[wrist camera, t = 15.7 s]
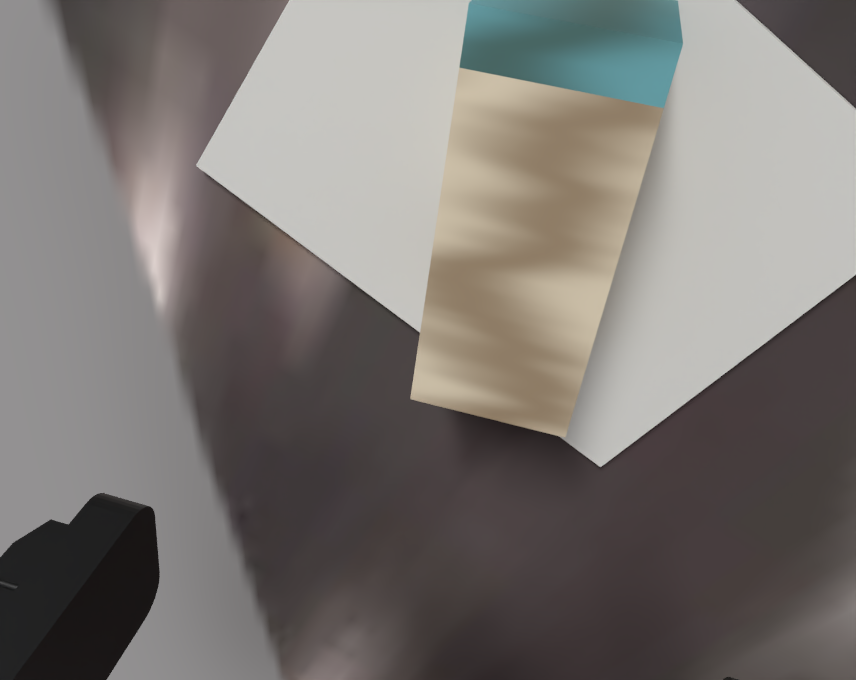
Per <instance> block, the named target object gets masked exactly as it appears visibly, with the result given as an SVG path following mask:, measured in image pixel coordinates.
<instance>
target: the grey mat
mask: <svg viewBox="0 0 856 680" xmlns="http://www.w3.org/2000/svg"><path fill="white" fill-rule="evenodd" d="M470 1H471V0H289V2H288V4H287V6H286V7H285V9H284V11H283V13H282V14H281V16H280V18H279V20H278V21H277V23H276V25H275V27H274V29H273V30H272V32H271V34H270V36H269V37H268V39H267V41H266V43H265V44H264V46H263V48H262V50H261V52H260V53H259V55H258V57H257V59H256V60H255V62H254V64H253V66H252V68H251V69H250V71H249V73H248V75H247V76H246V78H245V80H244V82H243V83H242V85H241V87H240V89H239V91H238V92H237V94H236V96H235V98H234V99H233V101H232V103H231V105H230V106H229V108H228V110H227V112H226V114H225V115H224V117H223V119H222V121H221V122H220V124H219V126H218V128H217V129H216V131H215V133H214V135H213V137H212V138H211V140H210V142H209V144H208V145H207V147H206V149H205V151H204V153H203V154H202V156H201V158H200V160H199V161H198V163H197V165H196V166H197V167H198V168H200V169H201V170H202V171H204V172H205V173H207V174H208V175H209V176H211V177H212V178H213V179H215V180H216V181H217V182H219V183H220V184H221V185H223V186H224V187H225V188H227V189H228V190H229V191H231V192H232V193H233V194H235V195H236V196H237V197H239V198H240V199H241V200H243V201H244V202H245V203H247V204H248V205H249V206H251V207H252V208H253V209H255V210H256V211H257V212H259V213H260V214H261V215H263V216H264V217H266V218H267V219H268V220H270V221H271V222H272V223H274V224H275V225H276V226H278V227H279V228H280V229H282V230H283V231H284V232H286V233H287V234H288V235H290V236H291V237H292V238H294V239H295V240H296V241H298V242H299V243H300V244H302V245H303V246H304V247H306V248H307V249H308V250H310V251H311V252H312V253H314V254H315V255H316V256H318V257H319V258H320V259H322V260H323V261H325V262H326V263H327V264H329V265H330V266H331V267H333V268H334V269H335V270H337V271H338V272H339V273H341V274H342V275H343V276H345V277H346V278H347V279H349V280H350V281H351V282H353V283H354V284H355V285H357V286H358V287H359V288H361V289H362V290H363V291H365V292H366V293H367V294H369V295H370V296H371V297H373V298H374V299H375V300H377V301H378V302H379V303H381V304H382V305H384V306H385V307H386V308H388V309H389V310H390V311H392V312H393V313H394V314H396V315H397V316H398V317H400V318H401V319H402V320H404V321H405V322H406V323H408V324H409V325H410V326H412V327H413V328H414V329H416V330H417V331H418V332H420V330H421V323H422V317H423V310H424V303H425V296H426V290H427V283H428V276H429V269H430V263H431V256H432V249H433V242H434V235H435V229H436V222H437V215H438V208H439V202H440V195H441V188H442V181H443V174H444V168H445V161H446V154H447V147H448V141H449V134H450V127H451V120H452V114H453V107H454V100H455V93H456V86H457V80H458V73H459V66H460V59H461V53H462V46H463V39H464V32H465V25H466V19H467V12H468V5H469V2H470ZM676 1H678V6H679V14H680V22H681V30H682V38H683V46H682V49H681V53H680V56H679V59H678V63H677V66H676V69H675V73H674V76H673V79H672V83H671V86H670V89H669V93H668V96H667V99H666V103H665V106H664V109H663V113H662V116H661V120H660V123H659V126H658V130H657V133H656V136H655V140H654V143H653V146H652V150H651V153H650V156H649V160H648V163H647V166H646V170H645V173H644V176H643V180H642V183H641V186H640V190H639V193H638V196H637V200H636V203H635V206H634V210H633V213H632V216H631V220H630V223H629V226H628V230H627V233H626V237H625V240H624V243H623V247H622V250H621V253H620V257H619V260H618V263H617V267H616V270H615V273H614V277H613V280H612V283H611V287H610V290H609V293H608V297H607V300H606V303H605V307H604V310H603V313H602V317H601V320H600V323H599V327H598V330H597V333H596V337H595V340H594V343H593V347H592V350H591V354H590V357H589V360H588V364H587V367H586V370H585V374H584V377H583V380H582V384H581V387H580V390H579V394H578V397H577V400H576V404H575V407H574V410H573V414H572V417H571V420H570V424H569V427H568V430H567V434H566V437H565V438H564V437H561V438H562V439H563V440H565V441H566V442H567V443H569V444H570V445H571V446H573V447H574V448H575V449H577V450H578V451H579V452H581V453H582V454H583V455H585V456H586V457H587V458H589V459H590V460H591V461H593V462H594V463H595V464H597V465H598V466H599V467H601V466H603V465H604V464H605V463H607V462H608V461H609V460H611V459H612V458H613V457H615V456H616V455H617V454H619V453H620V452H621V451H623V450H624V449H625V448H627V447H628V446H629V445H631V444H632V443H633V442H635V441H636V440H637V439H639V438H640V437H641V436H643V435H644V434H645V433H647V432H648V431H649V430H651V429H652V428H653V427H655V426H656V425H657V424H658V423H660V422H661V421H662V420H664V419H665V418H666V417H668V416H669V415H670V414H672V413H673V412H674V411H676V410H677V409H678V408H680V407H681V406H682V405H684V404H685V403H686V402H688V401H689V400H690V399H692V398H693V397H694V396H696V395H697V394H698V393H700V392H701V391H702V390H704V389H705V388H706V387H708V386H709V385H710V384H711V383H713V382H714V381H715V380H717V379H718V378H719V377H721V376H722V375H723V374H725V373H726V372H727V371H729V370H730V369H731V368H733V367H734V366H735V365H737V364H738V363H739V362H741V361H742V360H743V359H745V358H746V357H747V356H749V355H750V354H751V353H753V352H754V351H755V350H757V349H758V348H759V347H761V346H762V345H763V344H765V343H766V342H767V341H768V340H770V339H771V338H772V337H774V336H775V335H776V334H778V333H779V332H780V331H782V330H783V329H784V328H786V327H787V326H788V325H790V324H791V323H792V322H794V321H795V320H796V319H798V318H799V317H800V316H802V315H803V314H804V313H806V312H807V311H808V310H810V309H811V308H812V307H814V306H815V305H816V304H818V303H819V302H820V301H821V300H823V299H824V298H825V297H827V296H828V295H829V294H831V293H832V292H833V291H835V290H836V289H837V288H839V287H840V286H841V285H843V284H844V283H845V282H847V281H848V280H849V279H851V278H852V277H853V276H855V275H856V108H855V107H853V106H852V105H851V104H850V103H849V102H848V101H847V100H846V99H845V98H844V97H842V96H841V95H840V94H839V93H838V92H837V91H836V90H835V89H834V88H833V87H831V86H830V85H829V84H828V83H827V82H826V81H825V80H824V79H823V78H821V77H820V76H819V75H818V74H817V73H816V72H815V71H814V70H813V69H812V68H810V67H809V66H808V65H807V64H806V63H805V62H804V61H803V60H802V59H801V58H799V57H798V56H797V55H796V54H795V53H794V52H793V51H792V50H791V49H789V48H788V47H787V46H786V45H785V44H784V43H783V42H782V41H781V40H780V39H778V38H777V37H776V36H775V35H774V34H773V33H772V32H771V31H770V30H769V29H767V28H766V27H765V26H764V25H763V24H762V23H761V22H760V21H759V20H757V19H756V18H755V17H754V16H753V15H752V14H751V13H750V12H749V11H748V10H746V9H745V8H744V7H743V6H742V5H741V4H740V3H739V2H738V1H737V0H676ZM559 437H560V436H559Z"/></svg>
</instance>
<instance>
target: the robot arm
mask: <svg viewBox="0 0 856 680" xmlns="http://www.w3.org/2000/svg"><path fill="white" fill-rule="evenodd" d="M158 584H159V561H158V549H157V537H156V524H155V514H154V511H153V509H152V508H151V507H149V506H146V505H142V504H139V503H135V502H132V501H129V500H125V499H122V498H118V497H115V496H111V495H108V494H104V493H100V494H97V495H95V496H93V497H92V498H91V499H90V500H89V501H88V502H87V503H86V504H85V505H84V507H83V508H82V509H81V510H80V512H79V513H78V514H77V515H76V516H75V518H74V519H73V520H72V521H71V522H70V524H69V525H68V524H64V523H61V522H57V521H54V520H49V521H48V522H46V523H45V524H43V525H41V526H40V527H38V528H37V529H35V530H33V531H32V532H30V533H28V534H27V535H25V536H24V537H22V538H20V539H19V540H17V541H15V542H14V543H13V544H12V545H11V546H10V547H9V548H8V549H7V551H6V552H5V553H4V554H3V555H2V556H1V557H0V680H106V679H107V678H108V676H109V675H110V673H111V672H112V670H113V669H114V667H115V665H116V664H117V662H118V660H119V659H120V658H121V656H122V654H123V653H124V651H125V650H126V648H127V647H128V645H129V643H130V642H131V640H132V639H133V637H134V636H135V634H136V632H137V631H138V629H139V628H140V626H141V624H142V623H143V621H144V620H145V618H146V616H147V615H148V613H149V611H150V609H151V606H152V604H153V601H154V599H155V596H156V593H157V589H158ZM723 680H738V679H734V678H731V677H726V678H725V679H723Z"/></svg>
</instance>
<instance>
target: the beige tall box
mask: <svg viewBox="0 0 856 680" xmlns="http://www.w3.org/2000/svg"><path fill="white" fill-rule="evenodd" d="M682 46H683V38H682V30H681V22H680V14H679V6H678V1H676V0H471V1H470V2H469V5H468V12H467V19H466V25H465V32H464V39H463V46H462V53H461V59H460V66H459V73H458V80H457V86H456V93H455V100H454V107H453V114H452V120H451V127H450V134H449V141H448V147H447V154H446V161H445V168H444V174H443V181H442V188H441V195H440V202H439V208H438V215H437V222H436V229H435V235H434V242H433V249H432V256H431V263H430V269H429V276H428V283H427V290H426V296H425V303H424V310H423V317H422V323H421V330H420V337H419V344H418V351H417V357H416V364H415V371H414V378H413V384H412V391H411V398H410V399H412V400H416V401H420V402H424V403H428V404H432V405H436V406H440V407H444V408H448V409H452V410H456V411H460V412H464V413H468V414H472V415H476V416H480V417H484V418H488V419H492V420H496V421H500V422H504V423H508V424H512V425H516V426H520V427H524V428H528V429H532V430H536V431H540V432H544V433H548V434H552V435H556V436H560V437H564V438H565V437H566V434H567V430H568V427H569V424H570V420H571V417H572V414H573V410H574V407H575V404H576V400H577V397H578V394H579V390H580V387H581V384H582V380H583V377H584V374H585V370H586V367H587V364H588V360H589V357H590V354H591V350H592V347H593V343H594V340H595V337H596V333H597V330H598V327H599V323H600V320H601V317H602V313H603V310H604V307H605V303H606V300H607V297H608V293H609V290H610V287H611V283H612V280H613V277H614V273H615V270H616V267H617V263H618V260H619V257H620V253H621V250H622V247H623V243H624V240H625V237H626V233H627V230H628V226H629V223H630V220H631V216H632V213H633V210H634V206H635V203H636V200H637V196H638V193H639V190H640V186H641V183H642V180H643V176H644V173H645V170H646V166H647V163H648V160H649V156H650V153H651V150H652V146H653V143H654V140H655V136H656V133H657V130H658V126H659V123H660V120H661V116H662V113H663V109H664V106H665V103H666V99H667V96H668V93H669V89H670V86H671V83H672V79H673V76H674V73H675V69H676V66H677V63H678V59H679V56H680V53H681V49H682Z"/></svg>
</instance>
